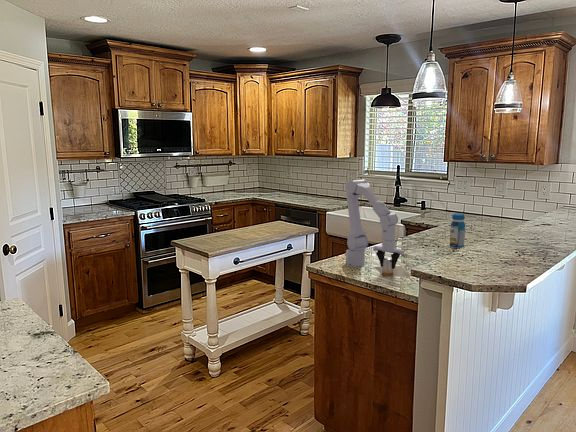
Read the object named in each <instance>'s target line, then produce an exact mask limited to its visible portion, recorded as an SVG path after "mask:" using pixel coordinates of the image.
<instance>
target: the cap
mask: <svg viewBox="0 0 576 432" xmlns="http://www.w3.org/2000/svg"><path fill="white" fill-rule="evenodd" d="M382 269H383V270H387V271H390V270H394V269H392V258H391V257H384V258H383V260H382Z"/></svg>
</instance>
